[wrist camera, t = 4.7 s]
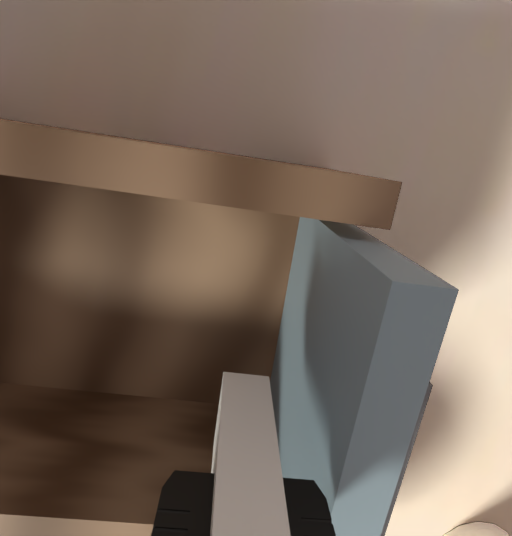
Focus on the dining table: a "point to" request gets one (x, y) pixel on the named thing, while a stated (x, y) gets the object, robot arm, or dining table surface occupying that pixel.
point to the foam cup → (477, 530)
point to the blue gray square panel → (354, 368)
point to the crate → (137, 311)
